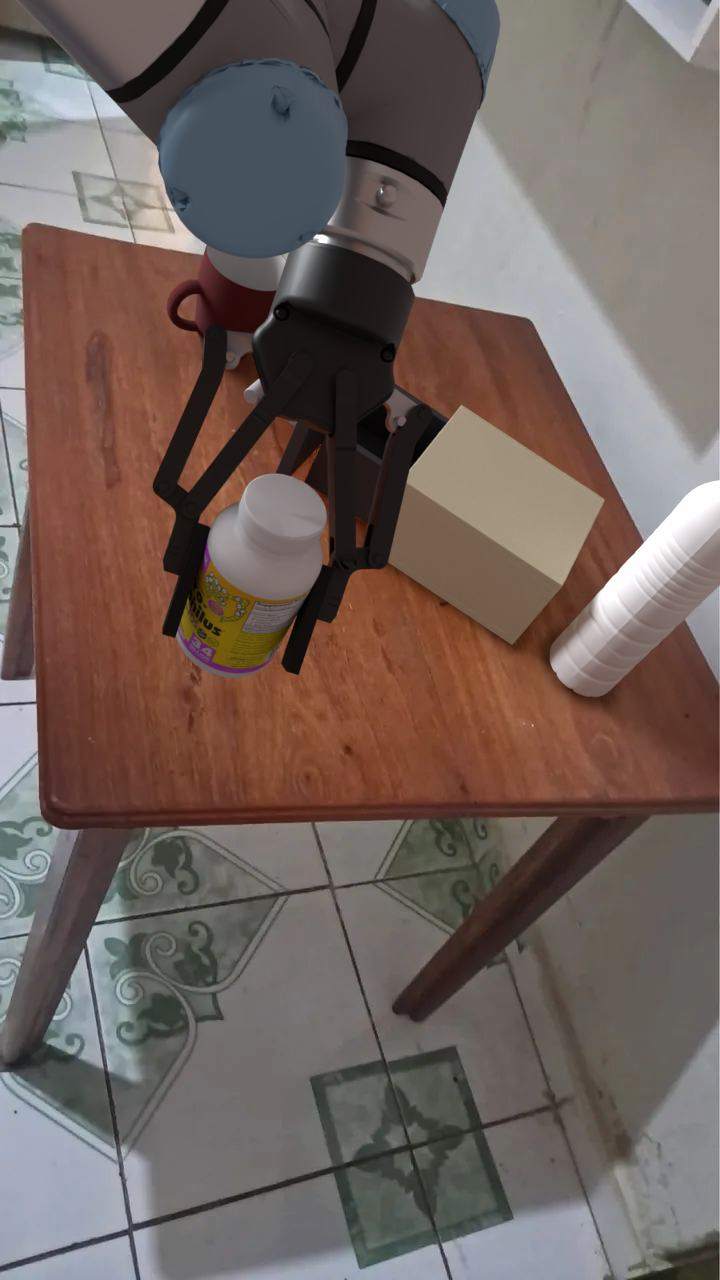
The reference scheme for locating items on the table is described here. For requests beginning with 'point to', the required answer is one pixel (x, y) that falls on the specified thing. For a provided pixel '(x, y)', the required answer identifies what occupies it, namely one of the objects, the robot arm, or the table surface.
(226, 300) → the mug
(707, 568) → the water bottle
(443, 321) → the table surface
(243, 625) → the supplement bottle
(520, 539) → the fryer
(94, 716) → the table surface
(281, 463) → the dark grey drawer
